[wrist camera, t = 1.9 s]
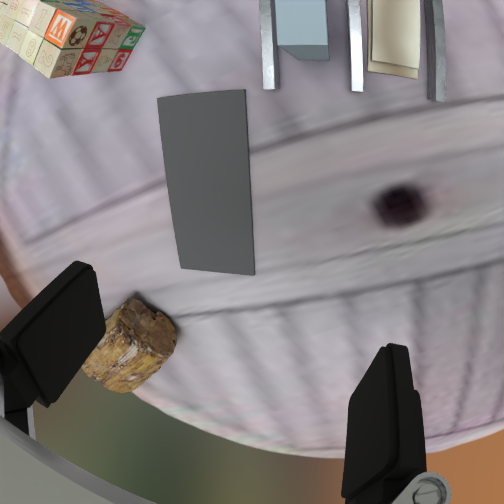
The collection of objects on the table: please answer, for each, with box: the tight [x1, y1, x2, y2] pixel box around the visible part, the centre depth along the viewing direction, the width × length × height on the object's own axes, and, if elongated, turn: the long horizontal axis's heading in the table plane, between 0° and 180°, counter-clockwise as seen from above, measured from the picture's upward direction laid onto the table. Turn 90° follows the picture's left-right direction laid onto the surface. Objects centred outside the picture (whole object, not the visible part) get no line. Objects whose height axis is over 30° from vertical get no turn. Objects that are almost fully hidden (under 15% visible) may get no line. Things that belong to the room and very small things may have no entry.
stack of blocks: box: [0, 0, 146, 78], centre depth 24 cm, size 21×6×12 cm, turn 53°
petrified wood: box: [82, 298, 176, 393], centre depth 50 cm, size 19×13×10 cm
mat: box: [157, 90, 255, 276], centre depth 37 cm, size 10×22×1 cm, turn 3°
